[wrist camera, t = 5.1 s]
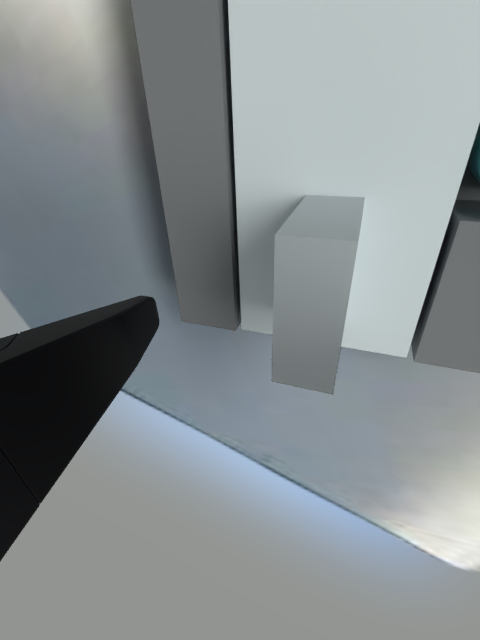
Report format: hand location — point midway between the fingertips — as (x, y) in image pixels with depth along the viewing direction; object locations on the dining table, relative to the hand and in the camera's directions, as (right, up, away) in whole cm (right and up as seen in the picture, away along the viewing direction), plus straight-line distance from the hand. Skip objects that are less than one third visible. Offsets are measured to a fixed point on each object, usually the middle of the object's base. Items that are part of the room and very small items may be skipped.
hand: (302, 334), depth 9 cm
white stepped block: (+3, +6, +5) cm, 8 cm away
